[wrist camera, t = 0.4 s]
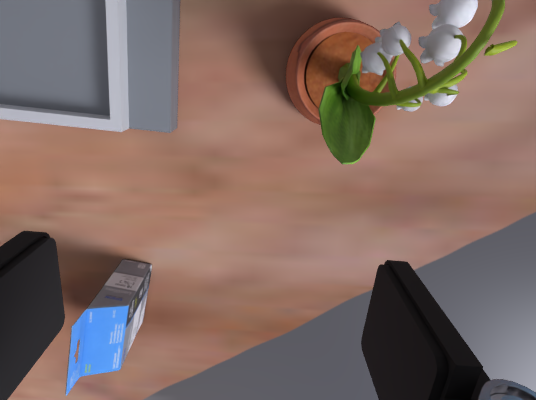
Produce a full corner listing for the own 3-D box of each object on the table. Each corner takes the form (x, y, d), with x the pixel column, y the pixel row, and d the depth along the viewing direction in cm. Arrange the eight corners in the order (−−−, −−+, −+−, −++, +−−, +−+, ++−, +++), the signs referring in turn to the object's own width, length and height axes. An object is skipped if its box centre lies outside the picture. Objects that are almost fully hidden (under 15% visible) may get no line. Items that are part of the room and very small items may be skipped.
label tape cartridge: (144, 321, 47) (105, 404, 36) (114, 316, 47) (64, 398, 36) (153, 263, 44) (114, 334, 33) (121, 257, 44) (70, 325, 33)
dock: (-94, -85, 32) (-155, -110, 27) (181, -49, 33) (167, -67, 28) (-58, 102, 38) (-103, 107, 33) (177, 127, 39) (165, 136, 34)
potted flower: (324, -21, 34) (456, -210, 11) (414, 31, 36) (701, -32, 12) (268, 97, 38) (273, 153, 14) (351, 140, 39) (479, 252, 16)
